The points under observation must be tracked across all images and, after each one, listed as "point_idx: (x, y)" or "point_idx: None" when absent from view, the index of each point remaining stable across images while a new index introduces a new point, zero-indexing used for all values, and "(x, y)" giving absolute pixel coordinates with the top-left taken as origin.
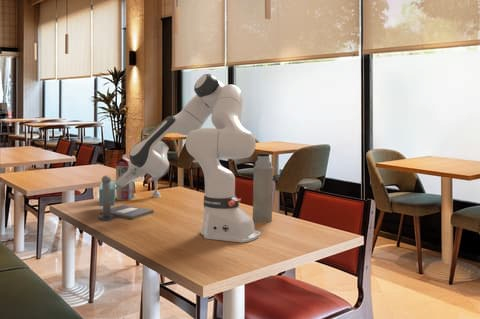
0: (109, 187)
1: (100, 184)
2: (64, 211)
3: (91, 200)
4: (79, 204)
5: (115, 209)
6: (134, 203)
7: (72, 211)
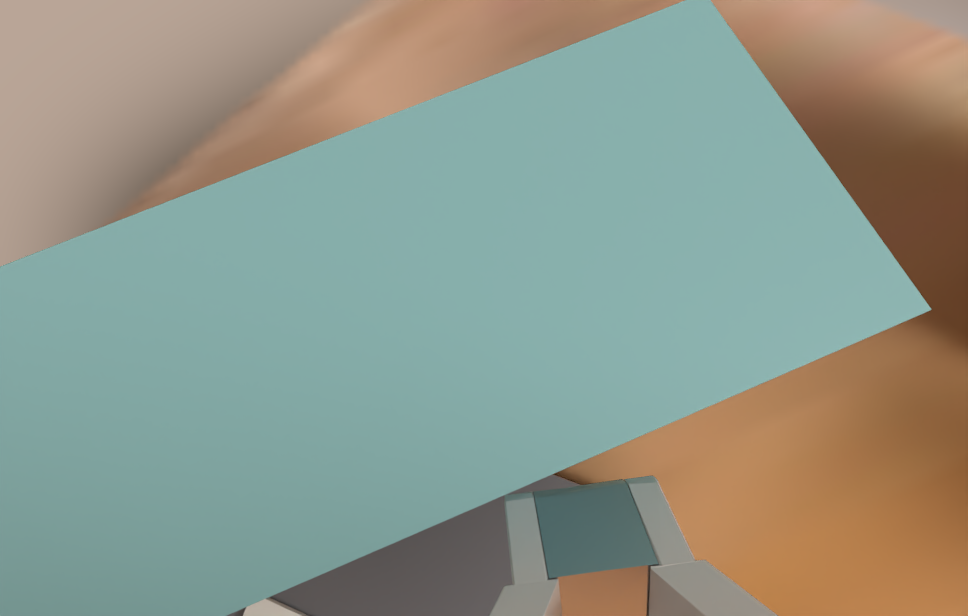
0: None
1: (233, 177)
2: (348, 30)
3: (866, 19)
4: (649, 7)
5: None
6: (958, 575)
7: (359, 87)
